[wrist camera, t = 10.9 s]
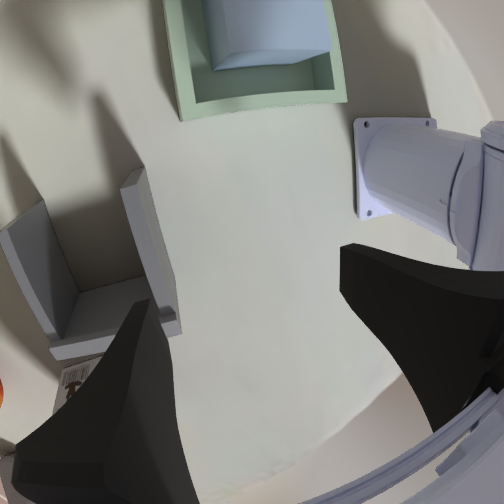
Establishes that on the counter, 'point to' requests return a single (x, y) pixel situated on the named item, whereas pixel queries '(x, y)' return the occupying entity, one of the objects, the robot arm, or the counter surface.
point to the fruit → (1, 393)
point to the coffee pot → (5, 472)
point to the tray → (244, 71)
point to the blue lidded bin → (264, 32)
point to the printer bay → (96, 300)
